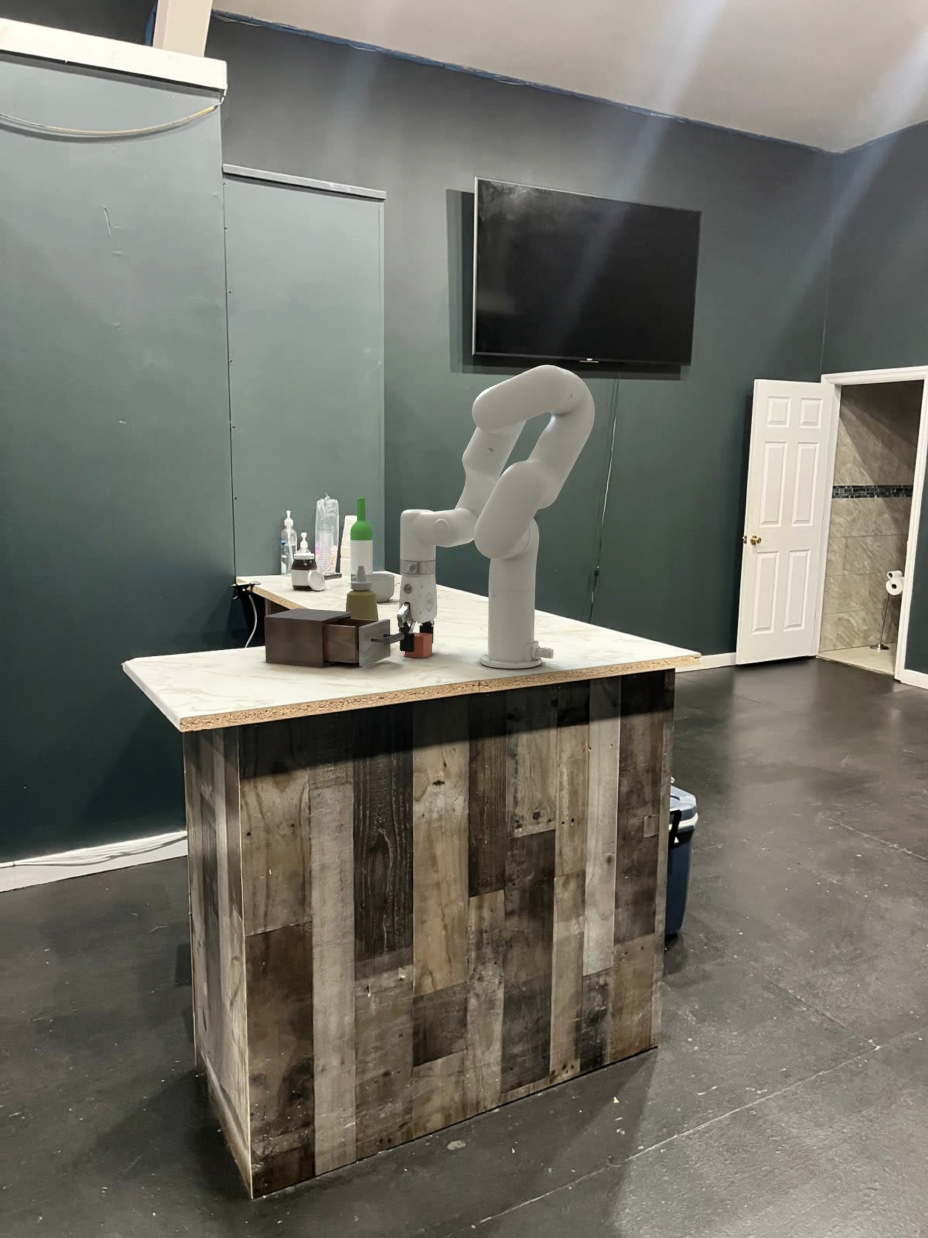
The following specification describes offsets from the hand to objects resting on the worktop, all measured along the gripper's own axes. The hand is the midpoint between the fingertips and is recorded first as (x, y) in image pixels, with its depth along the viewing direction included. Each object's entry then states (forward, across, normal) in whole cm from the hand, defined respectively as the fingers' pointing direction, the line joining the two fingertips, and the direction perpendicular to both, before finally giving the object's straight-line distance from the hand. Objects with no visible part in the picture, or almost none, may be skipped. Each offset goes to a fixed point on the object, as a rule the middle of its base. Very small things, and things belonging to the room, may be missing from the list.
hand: (416, 647), depth 198 cm
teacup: (+3, +72, +49) cm, 87 cm away
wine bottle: (+3, +109, +73) cm, 131 cm away
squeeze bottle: (+2, +6, +17) cm, 18 cm away
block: (+2, 0, 0) cm, 2 cm away
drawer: (+1, -13, +7) cm, 15 cm away
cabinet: (+2, -13, +19) cm, 23 cm away
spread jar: (+3, +87, +81) cm, 119 cm away
